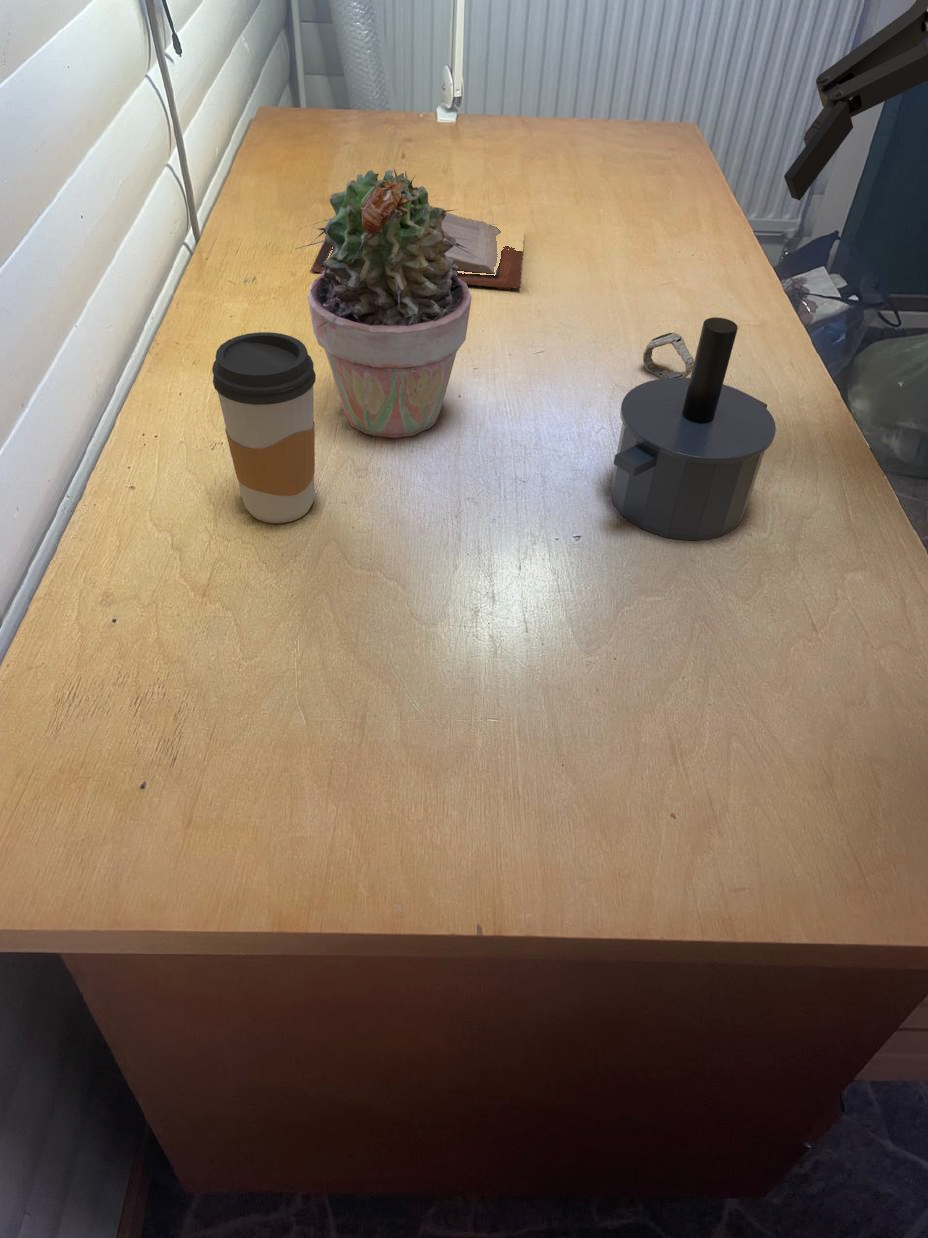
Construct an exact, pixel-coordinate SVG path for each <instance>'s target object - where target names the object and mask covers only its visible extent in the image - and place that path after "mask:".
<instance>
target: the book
mask: <svg viewBox="0 0 928 1238" xmlns="http://www.w3.org/2000/svg"><path fill="white" fill-rule="evenodd" d="M492 225H493V224H492ZM492 225H491V223H487V222H485V221H483V220H478V219H477V220H475V219H472V218H466V217H462V216H458V215H456V214H452V213H449V212H446V216H445V218H444V220H443V221H442V226H441V227H442V230H444V231H447V233H448V234H449V235H450V236H451V237H452V238H453V237H456V238H454V239H456V243H458V244H460V245H462V246H464V247H466V248H463V247H460V248H461V249H460V248H458V247H459V246H458V247H456V246H453V247H452V248H451V249H450V250H448V251H447V252H446V253H444V254H445V255H446V256H448V257H449V258H451V259H452V260H454V261H453V264H455V265H456V266H457V267H458V268H457V271H464V272H472V273H486V274H495V272H494V267H495V266H496V263H497V257H498V256H497V255H498V254H497V241H496V236H497V235H498V234H500V233H501V231H500V230H499V229H498V228H497V227H495V226H492ZM458 238H460V239H458ZM463 239H465V240H463ZM468 240H469V241H468ZM473 241H474V242H473ZM320 247H321V248H319V249H320V250H319V251H318V254H317V255H316V257H315V259H314V261H313V262H314V263H312V266H311V268H310V269H309V272H312V273H321V272H323V271H324V270H325V269H326V266H324V264H323V262H324V261H326V260H327V258H328V256H329V253H330V251H328V250H330V249H332V247H333V246H331V245H330V244H328V243H327V242H326V241H325V242H323V243H322V245H321V246H320ZM467 248H468V249H467ZM503 248H504V249H503V250H502V251H501V259H500V263H499V266H498V268H497V270H496V275H495V276H494V275H480V274H465V273H464V274H462V273H460V274H459V273H457V276H458V278H459V279H461V280H462V281H463V282H465V283H466V284H467V285H469V286H470V285H471V286H479V287H487V288H495V289H499V290H504V291H508V290H511V289H521V283H522V281H521V280H522V273H523V272H522V270H523V268H522V267H523V260H524V251H523V252H522V251H516V250H514V249H515V248H512V247H511V248H510V247H509V246H505V247H503ZM462 249H463V250H462ZM470 249H471V250H470ZM508 249H509V250H508ZM464 250H465V251H464ZM472 250H473V251H472ZM325 251H326V252H325ZM466 251H467V252H466ZM475 251H476V252H475ZM322 252H323V253H322ZM334 252H335V250H333V251H332V253H331V255H332V254H333V253H334ZM468 252H469V253H471V254H472V255H471V254H469V253H468ZM331 255H330V256H331ZM473 255H474V256H473ZM475 256H476V257H475ZM478 258H479V259H478ZM480 259H481V260H480ZM461 274H462V275H461Z"/></svg>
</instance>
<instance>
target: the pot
mask: <svg viewBox="0 0 928 1238" xmlns="http://www.w3.org/2000/svg"><path fill="white" fill-rule="evenodd" d="M750 396H751V397H753V398H754V399H756V400H757V401H759V402H760V403H761V404H762V405H763V406H765V407H766V409H768V404H767V403H766V402H763V401H761V400H760V399H758V398H756V397H755V396H753V395H750ZM765 452H766V450H765V451H764V452H763V453H761V454H760V455H758V456H756V457H754V458H752V459H749V460H745V461H742V462H736V463H728V464H704V463H696V462H690V461H685V460H680V459H677V458H673V457H670V456H667V455H664V454H662V453H659V452H657V451H655V450H653V449H651V448H649V447H647V446H645V445H644V444H642V443H641V442H639V441H638V440H637V439H636V438H634V437H633V436H632V435H631V434H630V433H629V432H628V430H627V429H626V428H625V426H624V425H623V422H622V423H621V429H620V435H619V440H618V446H617V451H616V453H615V455H614V459H613V471H612V472H613V473H612V477H611V487H610V488H611V489H610V495H611V501H612V502H613V504H614V506H615V508H616V509H617V511H618V513H620V514H621V515H622V516H623V517H624V518H625V519H626V520H627V521H629V522H630V523H632V524H633V525H635V526H636V527H638V528H640V529H642V530H644V531H645V532H648V533H651V534H654V535H656V536H660V537H663V538H667V539H673V540H680V541H704V540H710V539H715V538H718V537H721V536H724V535H726V534H728V533H730V532H731V531H733V530H735V528H737V526H739V524H740V523H741V522H742V519H743V518H744V514H745V513H746V511H747V508H748V506H749V502H750V498H751V495H752V492H753V489H754V486H755V484H756V483H755V482H756V480H757V477H758V474H759V471H760V467H761V465H762V461H763V458H764V455H765Z"/></svg>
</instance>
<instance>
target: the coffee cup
mask: <svg viewBox="0 0 928 1238" xmlns="http://www.w3.org/2000/svg"><path fill="white" fill-rule="evenodd" d="M314 367H315V364H314V361H313V360H312V356H311V355H310V354H309V353H308V349H307V347H306V345H305V343H303V342H302V341H301V340H300V339H298V338H295V337H294V336H291V335H288V334H284V333H280V332H279V333H278V332H270V331H267V332H264V331H263V332H260V331H259V332H251V333H244V334H241V335H237V336H235V337H232V338H230V339H228V340H226V341H225V342H223V343H221V344H220V346H219V347H218V348H217V349H216V353H215V360H214V362H213V364H212V368H211V369H212V370H211V372H212V375H213V377H212V384H213V386H214V389H215V391H216V392H217V395H218V396H217V397H218V401H219V405H220V409H221V412H222V417H223V421H224V425H225V428H224V429H225V430H224V431H225V434H226V440H227V443H228V447H229V452H230V456H231V460H232V464H233V465H232V466H233V468H234V473H235V476H236V479H237V482H238V485H239V489H240V494H241V499H242V502H243V505H244V508H245V509H246V511H248V513H249V514H250V515H251V516H252V517H254V519H256V520H258V521H261V522H264V523H267V524H268V523H269V524H285V523H290V522H293V521H296V520H298V519H300V518H303V517H304V516H305V515H306V514H307V513H308V512H309V511H310V509H311V507H312V505H313V503H314V501H315V473H316V472H315V470H316V469H315V468H316V467H315V466H316V464H315V463H316V452H315V451H316V448H315V446H316V445H315V444H316V443H315V440H316V439H315V438H316V436H315V434H316V433H315V432H316V431H315V430H316V429H315V426H316V425H315V424H316V423H315V419H314V418H315V417H314V416H315V415H314V414H315V413H314V411H315V410H314V409H315V407H314V406H315V405H314V385H315V383H316V380H317V379H316V378H317V377H316V376H317V374H316V372H315V369H314Z"/></svg>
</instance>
